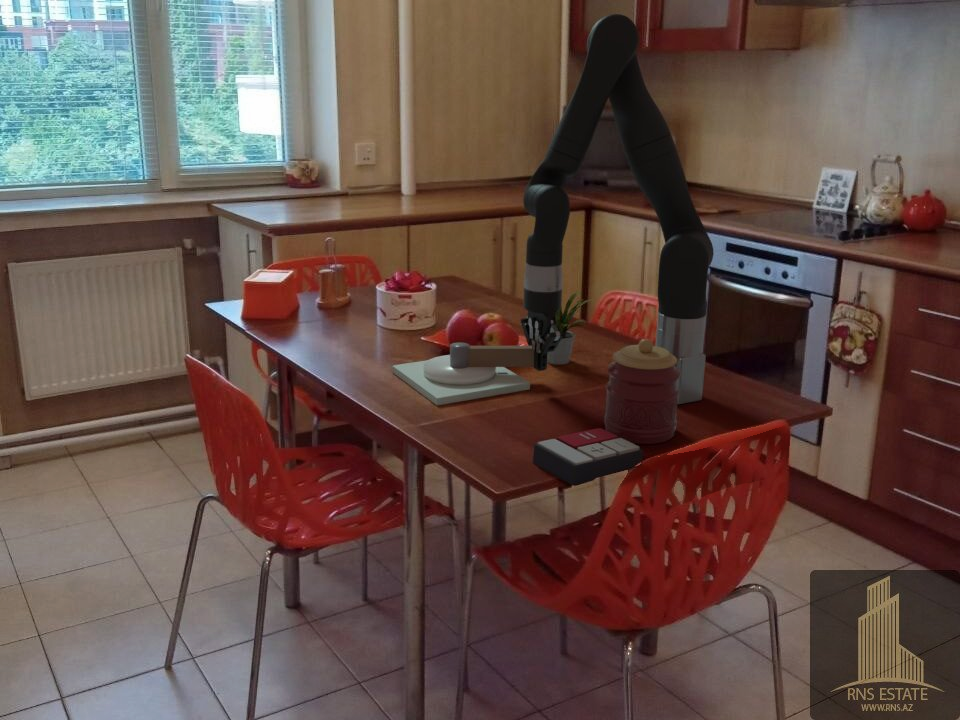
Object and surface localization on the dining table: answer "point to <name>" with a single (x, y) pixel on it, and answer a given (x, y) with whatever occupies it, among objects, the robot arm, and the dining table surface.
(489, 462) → the dining table surface
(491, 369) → the dial
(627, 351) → the canister
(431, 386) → the dial base
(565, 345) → the house plant
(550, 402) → the dining table surface
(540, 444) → the calculator
